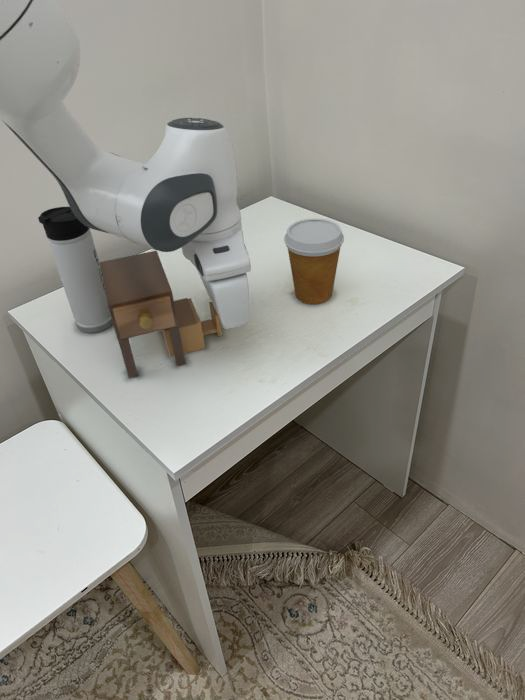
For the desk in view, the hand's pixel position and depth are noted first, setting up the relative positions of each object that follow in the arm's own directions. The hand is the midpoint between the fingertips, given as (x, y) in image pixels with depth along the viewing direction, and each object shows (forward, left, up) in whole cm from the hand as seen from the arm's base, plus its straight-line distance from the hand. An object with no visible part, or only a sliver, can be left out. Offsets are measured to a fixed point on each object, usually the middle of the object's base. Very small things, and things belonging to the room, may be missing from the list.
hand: (222, 317), depth 85 cm
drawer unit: (-12, 0, -3) cm, 12 cm away
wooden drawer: (-5, 0, -2) cm, 6 cm away
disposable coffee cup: (+17, +4, -3) cm, 18 cm away
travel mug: (-20, +10, -3) cm, 22 cm away
